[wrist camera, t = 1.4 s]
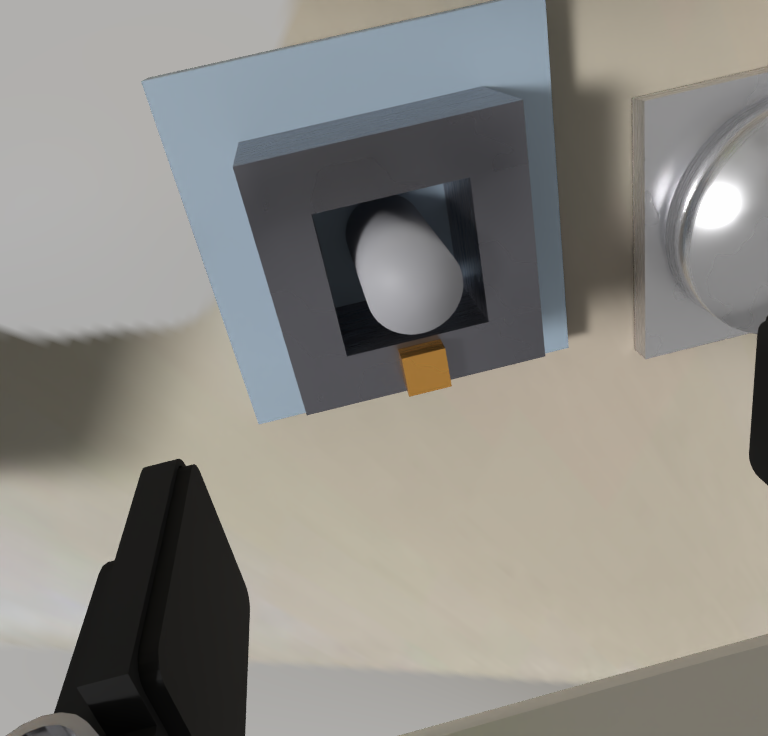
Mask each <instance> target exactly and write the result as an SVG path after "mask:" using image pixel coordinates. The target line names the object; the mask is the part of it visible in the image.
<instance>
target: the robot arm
mask: <svg viewBox="0 0 768 736" xmlns="http://www.w3.org/2000/svg"><path fill="white" fill-rule="evenodd" d="M749 459H750V463H751V466H752V468H753V470H754V472H755V473H756V475H757V476H758V477H759V478H760V479H761V480H762V481H764V482H765V483H766V484H767V485H768V316H767V317H766V321H764V322H762V323H761V324H760V326H759V328H758V334H757V348H756V362H755V377H754V391H753V405H752V419H751V433H750V448H749ZM249 620H250V603H249V596H248V592H247V588H246V585H245V582H244V580H243V578H242V575H241V573H240V570H239V568H238V565H237V563H236V560H235V558H234V555H233V553H232V550H231V548H230V545H229V543H228V540H227V538H226V535H225V533H224V530H223V528H222V525H221V523H220V520H219V518H218V515H217V513H216V510H215V508H214V505H213V503H212V500H211V498H210V496H209V493H208V491H207V488H206V486H205V483H204V481H203V478H202V476H201V473H200V471H199V469H198V467H197V466H196V465H195V464H193V465H189V466H186V465H185V464H184V462H183V461H182V460H181V459H176V460H172V461H168V462H164V463H160V464H156V465H152V466H148V467H145V468H143V470H142V472H141V474H140V478H139V481H138V484H137V488H136V491H135V494H134V498H133V501H132V504H131V508H130V511H129V514H128V518H127V521H126V524H125V528H124V531H123V534H122V538H121V541H120V544H119V548H118V551H117V554H116V558H115V561H111V562H107V563H106V564H105V565H104V566H103V567H102V569H101V571H100V573H99V575H98V578H97V581H96V585H95V588H94V591H93V594H92V597H91V600H90V603H89V606H88V609H87V612H86V616H85V619H84V622H83V625H82V628H81V631H80V634H79V637H78V640H77V643H76V647H75V650H74V653H73V656H72V659H71V662H70V665H69V669H68V671H67V675H66V678H65V681H64V684H63V687H62V690H61V693H60V696H59V700H58V702H57V706H56V709H55V712H54V714H50V715H44V716H41V717H38V718H36V719H34V720H32V721H30V722H27V723H25V724H23V725H21V726H19V727H18V728H17V729H15V730H14V731H12V732H11V733H9V734H8V735H6V736H245V723H246V698H247V671H248V646H249ZM399 736H768V634H766V635H762V636H758V637H755V638H751V639H747V640H744V641H740V642H736V643H733V644H729V645H725V646H722V647H718V648H714V649H711V650H707V651H703V652H699V653H696V654H692V655H688V656H685V657H681V658H677V659H674V660H670V661H666V662H663V663H659V664H655V665H652V666H648V667H645V668H641V669H637V670H634V671H630V672H626V673H623V674H619V675H615V676H612V677H608V678H604V679H601V680H597V681H593V682H590V683H586V684H582V685H579V686H575V687H572V688H568V689H564V690H561V691H557V692H554V693H550V694H547V695H543V696H539V697H536V698H532V699H529V700H525V701H522V702H518V703H514V704H511V705H507V706H504V707H500V708H497V709H493V710H489V711H485V712H482V713H479V714H475V715H471V716H467V717H464V718H460V719H457V720H453V721H450V722H446V723H442V724H439V725H435V726H431V727H428V728H424V729H421V730H417V731H414V732H410V733H406V734H403V735H399Z"/></svg>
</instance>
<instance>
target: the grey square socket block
mask: <svg viewBox="0 0 768 736" xmlns="http://www.w3.org/2000/svg"><path fill="white" fill-rule="evenodd" d="M233 170H234V173H235V177H236V180H237V183H238V187H239V190H240V193H241V197H242V200H243V204H244V207H245V210H246V214H247V217H248V220H249V224H250V227H251V230H252V234H253V237H254V240H255V244H256V247H257V250H258V254H259V257H260V260H261V264H262V267H263V270H264V274H265V277H266V281H267V284H268V287H269V291H270V294H271V297H272V301H273V304H274V307H275V311H276V314H277V317H278V321H279V324H280V327H281V331H282V334H283V337H284V341H285V344H286V347H287V351H288V354H289V358H290V361H291V364H292V368H293V371H294V374H295V378H296V381H297V384H298V388H299V391H300V394H301V398H302V401H303V404H304V408H305V411H306V414H307V415H310V414H314V413H318V412H322V411H326V410H330V409H334V408H338V407H342V406H346V405H350V404H354V403H358V402H362V401H367V400H371V399H375V398H379V397H383V396H387V395H391V394H395V393H399V392H403V391H408V394H409V397H410V396H414V395H418V394H422V393H426V392H430V391H434V390H438V389H442V388H446V387H450V386H452V385H451V379H455V378H459V377H463V376H467V375H471V374H475V373H479V372H483V371H487V370H492V369H496V368H500V367H504V366H508V365H512V364H516V363H520V362H524V361H528V360H532V359H536V358H540V357H544V356H545V347H544V335H543V324H542V312H541V300H540V289H539V277H538V266H537V254H536V242H535V231H534V219H533V208H532V196H531V184H530V173H529V161H528V150H527V138H526V126H525V115H524V103H523V99H520V98H517V97H514V96H510V95H507V94H504V93H501V92H498V91H495V90H492V89H489V88H486V87H483V86H481V87H476V88H472V89H468V90H463V91H459V92H455V93H450V94H446V95H442V96H437V97H433V98H429V99H424V100H420V101H415V102H411V103H407V104H402V105H398V106H394V107H389V108H385V109H381V110H376V111H372V112H368V113H363V114H359V115H354V116H350V117H346V118H341V119H337V120H333V121H328V122H324V123H320V124H315V125H311V126H307V127H302V128H298V129H294V130H289V131H285V132H280V133H276V134H272V135H267V136H263V137H259V138H254V139H250V140H246V141H241V142H238V146H237V151H236V155H235V159H234V163H233ZM439 184H443V186H444V192H445V199H446V206H447V212H448V219H449V226H450V233H451V239H452V246H453V253H454V258H455V259H456V261H457V263H458V264H459V266H460V269H461V272H462V276H463V292H462V297H461V300H460V302H459V304H458V307H457V308H456V310H455V311H454V313H453V314H452V315H451V316H450V318H449V319H448V320H446V321H445V322H444V323H443V324H441V325H440V326H438V327H437V328H435V329H433V330H431V331H428V332H425V333H420V334H411V335H410V334H401V333H397V332H394V331H391V330H389V329H387V328H386V327H384V326H383V325H382V324H380V323H379V322H378V321H377V320H376V319H375V317H374V316H373V314H372V313H371V311H370V309H369V307H368V304H367V301H362V302H358V303H353V304H349V305H345V306H341V307H337V308H336V307H335V303H334V299H333V295H332V291H331V287H330V283H329V279H328V275H327V271H326V267H325V263H324V259H323V255H322V251H321V247H320V243H319V239H318V235H317V231H316V227H315V223H314V219H313V215H312V214H316V213H320V212H324V211H328V210H333V209H337V208H341V207H345V206H350V205H354V204H358V203H362V202H367V201H371V200H375V199H379V198H384V197H388V196H392V195H396V194H401V193H405V192H409V191H413V190H418V189H422V188H426V187H430V186H435V185H439Z"/></svg>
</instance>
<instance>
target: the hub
mask: <svg viewBox="0 0 768 736" xmlns="http://www.w3.org/2000/svg"><path fill="white" fill-rule="evenodd" d="M632 150H633V234H634V318H635V350H636V351H637V352H638V353H639V354H640V355H641V356H642V357H644V358H645V359H648V358H652V357H656V356H660V355H664V354H668V353H672V352H676V351H680V350H684V349H688V348H692V347H696V346H700V345H704V344H708V343H712V342H716V341H720V340H724V339H728V338H732V337H736V336H740V335H744V334H748V333H754V334H758V328H759V326H760V324H761V323H762V322H764V321H766V317H767V316H768V67H764V68H759V69H755V70H751V71H747V72H742V73H738V74H734V75H729V76H725V77H721V78H716V79H712V80H708V81H704V82H699V83H695V84H691V85H686V86H682V87H678V88H673V89H669V90H665V91H661V92H656V93H652V94H648V95H643V96H639V97H635V98H632Z"/></svg>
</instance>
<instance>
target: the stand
mask: <svg viewBox="0 0 768 736" xmlns="http://www.w3.org/2000/svg"><path fill="white" fill-rule="evenodd" d="M142 85H143V88H144V91H145V94H146V97H147V100H148V103H149V105H150V108H151V112H152V114H153V117H154V120H155V123H156V126H157V129H158V132H159V135H160V138H161V141H162V144H163V146H164V149H165V152H166V155H167V158H168V161H169V164H170V167H171V170H172V173H173V175H174V179H175V181H176V184H177V187H178V190H179V193H180V196H181V199H182V202H183V204H184V208H185V210H186V213H187V216H188V219H189V222H190V225H191V228H192V231H193V234H194V237H195V240H196V243H197V246H198V248H199V251H200V254H201V257H202V260H203V263H204V266H205V269H206V272H207V275H208V278H209V281H210V283H211V286H212V289H213V292H214V295H215V298H216V301H217V304H218V307H219V310H220V313H221V315H222V318H223V321H224V324H225V327H226V330H227V333H228V336H229V339H230V342H231V345H232V348H233V350H234V353H235V356H236V359H237V362H238V365H239V368H240V371H241V374H242V377H243V380H244V383H245V385H246V388H247V391H248V394H249V397H250V400H251V403H252V406H253V409H254V412H255V415H256V417H257V420H258V423H259V424H262V423H266V422H270V421H274V420H278V419H282V418H286V417H290V416H295V415H299V414H303V413H306V411H305V408H304V404H303V401H302V398H301V394H300V391H299V388H298V384H297V381H296V378H295V374H294V371H293V368H292V364H291V361H290V358H289V354H288V351H287V347H286V344H285V341H284V337H283V334H282V331H281V327H280V324H279V321H278V317H277V314H276V311H275V307H274V304H273V301H272V297H271V294H270V291H269V287H268V284H267V281H266V277H265V274H264V270H263V267H262V264H261V260H260V257H259V254H258V250H257V247H256V244H255V240H254V237H253V234H252V230H251V227H250V224H249V220H248V217H247V214H246V210H245V207H244V204H243V200H242V197H241V193H240V190H239V187H238V183H237V180H236V177H235V173H234V170H233V163H234V159H235V155H236V151H237V146H238V142H241V141H246V140H250V139H254V138H259V137H263V136H267V135H272V134H276V133H280V132H285V131H289V130H294V129H298V128H302V127H307V126H311V125H315V124H320V123H324V122H328V121H333V120H337V119H341V118H346V117H350V116H354V115H359V114H363V113H368V112H372V111H376V110H381V109H385V108H389V107H394V106H398V105H402V104H407V103H411V102H415V101H420V100H424V99H429V98H433V97H437V96H442V95H446V94H450V93H455V92H459V91H463V90H468V89H472V88H476V87H481V86H483V87H486V88H489V89H492V90H495V91H498V92H501V93H504V94H507V95H510V96H514V97H517V98H520V99H523V103H524V115H525V126H526V138H527V150H528V161H529V173H530V184H531V196H532V208H533V219H534V231H535V242H536V254H537V266H538V277H539V289H540V300H541V312H542V324H543V335H544V347H545V353H549V352H553V351H557V350H561V349H565V348H569V347H568V332H567V317H566V302H565V287H564V272H563V257H562V242H561V227H560V212H559V197H558V182H557V167H556V152H555V137H554V122H553V107H552V92H551V77H550V62H549V47H548V32H547V17H546V2H545V0H493V1H489V2H484V3H480V4H476V5H471V6H467V7H462V8H458V9H453V10H449V11H444V12H440V13H435V14H431V15H427V16H422V17H418V18H413V19H409V20H404V21H400V22H395V23H391V24H386V25H382V26H377V27H373V28H369V29H364V30H360V31H355V32H351V33H346V34H342V35H337V36H333V37H328V38H324V39H320V40H315V41H311V42H306V43H302V44H297V45H293V46H288V47H284V48H279V49H275V50H270V51H266V52H262V53H257V54H253V55H248V56H244V57H239V58H235V59H230V60H226V61H222V62H217V63H213V64H208V65H204V66H199V67H195V68H190V69H186V70H181V71H177V72H173V73H168V74H164V75H159V76H155V77H150V78H147V79H145V80H143V81H142ZM312 215H313V219H314V223H315V227H316V231H317V235H318V239H319V243H320V247H321V251H322V255H323V259H324V263H325V267H326V271H327V275H328V279H329V283H330V287H331V291H332V295H333V299H334V303H335V307H336V308H337V307H341V306H345V305H349V304H353V303H358V302H362V301H367V304H368V307H369V309H370V311H371V313H372V314H373V316H374V317H375V319H376V320H377V321H378V322H379V323H380V324H382V325H383V326H384V327H386V328H387V329H389V330H391V331H394V332H397V333H401V334H410V335H411V334H420V333H425V332H428V331H431V330H433V329H435V328H437V327H438V326H440V325H441V324H443V323H444V322H445V321H446V320H448V319H449V318H450V316H451V315H452V314H453V313H454V311H455V310H456V308H457V307H458V304H459V302H460V300H461V297H462V292H463V276H462V272H461V269H460V266H459V264H458V263H457V261H456V259H455V258H454V253H453V246H452V239H451V233H450V226H449V219H448V212H447V206H446V199H445V192H444V186H443V184H439V185H435V186H430V187H426V188H422V189H418V190H413V191H409V192H405V193H401V194H396V195H392V196H388V197H384V198H379V199H375V200H371V201H367V202H362V203H358V204H354V205H350V206H345V207H341V208H337V209H333V210H328V211H324V212H320V213H316V214H312Z"/></svg>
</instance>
